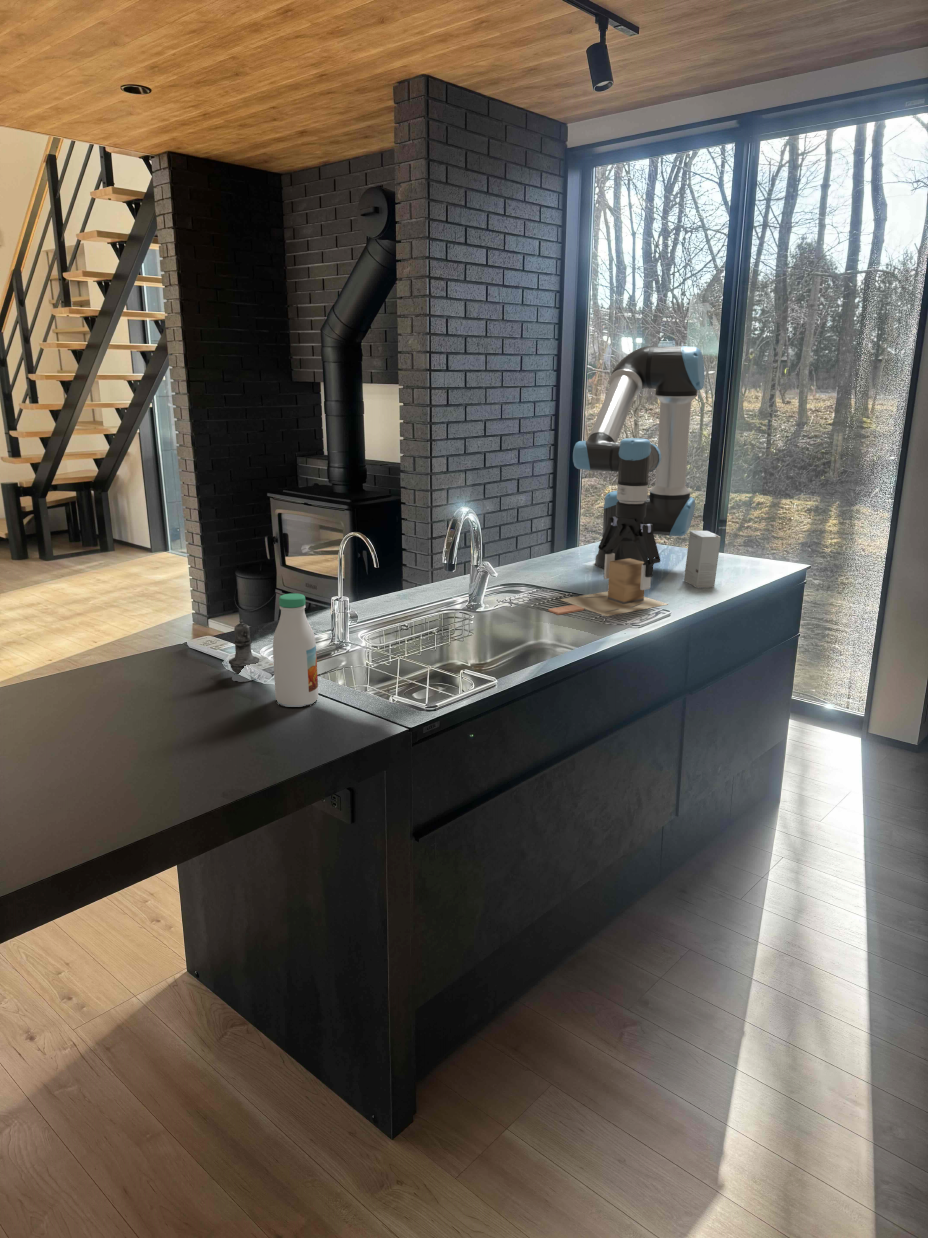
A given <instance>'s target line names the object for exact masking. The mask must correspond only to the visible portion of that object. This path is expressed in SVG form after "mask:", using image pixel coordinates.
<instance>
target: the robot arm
mask: <svg viewBox="0 0 928 1238" xmlns="http://www.w3.org/2000/svg"><path fill="white" fill-rule="evenodd" d="M703 356H704V355H703V353H702V350H701V349H700V348H698V347H696V346H686V345H681V346H680V345H679V346H678V345H677V346H675V345H673V346H670V345H669V346H653V345H652V346H651V345H650V346H642V347H639V348H637V349H635V350H633V351H631V352H630V353H628V354H627V355H626V356H625V357H623V358H622V359H621V360H620V361H619V362H618V363H617V364H616V366H615V367H614V368H613V370H612V372H611V374H610V376H609V379H608V386H609V387H608V390H607V391H606V392H607V393H606V395H605V397H604V400H603V402H602V404H601V407H600V409H599V411H598V415H597V416H596V419H595V421H594V424H593V426H592V428H591V432H590V433H589V435H588V438H587V440H586V439H585V440H579V441H577V442H575V444H574V446H573V452H572V463H573V465H574V467H575V468H576V469H578V470H581V471H582V470H584V471H590V472H591V471H593V472H615V473H617V489H616V490H613V491H610V492H608V493H607V494H606V495H605V496H604V503H603V508H602V509H603V514H602V515H603V519H602V535H601V536H602V538H601V539H600V542H599V544H598V550H597V551H598V552H597V554H596V555H595V563H594V564H595V566H597V567H599V568H601V569H603V570H604V571H603V575H604V576H603V579H604V580H609V567H610V561H615V560H622V559H629V558H631V559H634V560H638V561H642V562H644V563H643V564H642V569H641V584H640V590H644V591H645V590H650V589H651V582H652V577H653V574H654V572H653V571H654V565H655V564H657V563H658V564H659V563H661V557H660V554H659V550H658V547H657V543H656V538H655V535H657V536H667V537H684V536H685V535H687V533H688V531H689V530H690V527H691V524H692V521H693V517H694V514H695V508H696V500H695V498H693V497H690V494H691V490H690V489H689V488H688V487H687V486H686V477H687V464H688V463H687V462H688V450H689V449H688V448H689V437H690V423H691V409H692V408H691V406H692V402H693V401H694V400H695V399H696V398H697V396H698V391H701V390H703V389H704V386H705V385H704V384H705V378H706V377H705V371H706V370H705V362H704V357H703ZM645 389H648V390H649V389H650V390H655V398H657V399H658V401H659V402H660V403H659V417H658V418H659V421H658V437H657V445H656V444H655V443H652V442H651V441H650V440H649V439H647V438H641V437H639V438H638V437H631V438H630V437H629V438H623V439H621V441H620V442H618V439H619V438H620V435H621V432H622V431H623V427H624V425H625V423H626V420H627V417H628V415H629V412H630V409H631V407H632V404H633V402H634V400H635V398H636V396H638V395H639V394H640V393H641V391H642V390H645ZM653 471H656V472H655V483H654V485H653V486H652V487H651V488H650V490H649V476H650V475H649V473H651V472H653ZM648 492H649V494H648Z"/></svg>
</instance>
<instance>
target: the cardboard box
mask: <svg viewBox="0 0 928 1238" xmlns="http://www.w3.org/2000/svg"><path fill="white" fill-rule="evenodd" d="M643 563H644V562H642V561H638V560H634V559H631V558H629V559H622V560H615V561H610V567H609V579H608V584H607V585H608V589H607V591H608V599H609V600H612V601H615V602H619V603H622V604H627V603H633V602H638V601H643V600H644V597H645V590H640V584H641V569H642V564H643Z"/></svg>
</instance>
